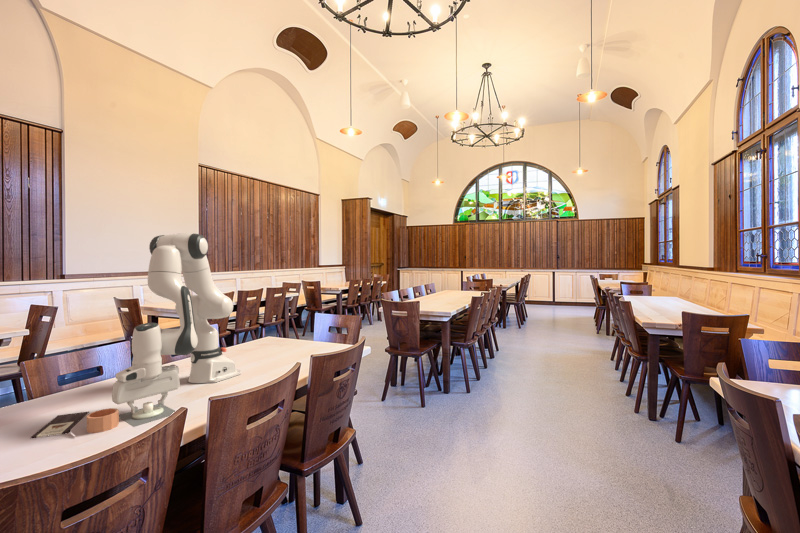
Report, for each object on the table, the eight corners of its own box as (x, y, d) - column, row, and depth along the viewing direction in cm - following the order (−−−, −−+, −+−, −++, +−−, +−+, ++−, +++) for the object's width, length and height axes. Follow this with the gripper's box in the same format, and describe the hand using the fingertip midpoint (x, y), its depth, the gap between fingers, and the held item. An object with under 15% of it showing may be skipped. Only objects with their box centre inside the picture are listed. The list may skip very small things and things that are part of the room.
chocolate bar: (89, 411, 137) (67, 431, 120) (89, 414, 137) (67, 434, 120) (57, 415, 133) (30, 436, 117) (57, 418, 133) (30, 439, 117)
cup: (113, 421, 129) (113, 406, 129) (122, 427, 124) (121, 411, 124) (83, 429, 122) (83, 414, 122) (91, 436, 118) (91, 420, 118)
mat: (160, 404, 144) (160, 403, 144) (179, 413, 135) (179, 412, 135) (116, 416, 133) (116, 415, 133) (133, 427, 123) (133, 426, 123)
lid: (156, 407, 140) (156, 397, 140) (168, 412, 135) (168, 402, 135) (127, 415, 133) (127, 404, 133) (138, 421, 127) (138, 410, 127)
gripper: (175, 362, 144) (175, 398, 144) (109, 375, 127) (110, 416, 128) (182, 364, 140) (183, 401, 140) (116, 378, 124) (117, 420, 124)
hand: (148, 408), depth 134 cm, fingers open, 7 cm apart
